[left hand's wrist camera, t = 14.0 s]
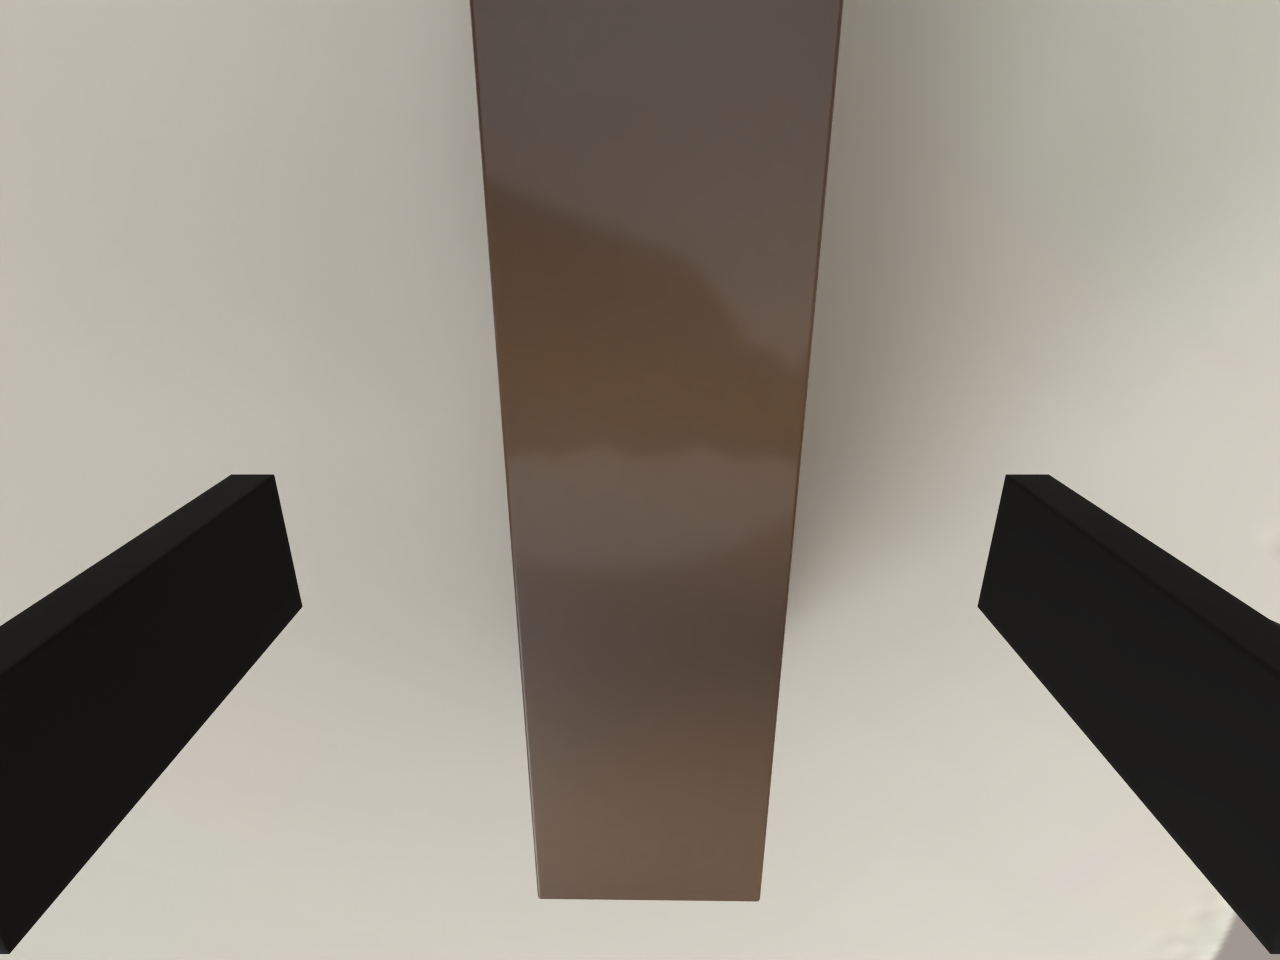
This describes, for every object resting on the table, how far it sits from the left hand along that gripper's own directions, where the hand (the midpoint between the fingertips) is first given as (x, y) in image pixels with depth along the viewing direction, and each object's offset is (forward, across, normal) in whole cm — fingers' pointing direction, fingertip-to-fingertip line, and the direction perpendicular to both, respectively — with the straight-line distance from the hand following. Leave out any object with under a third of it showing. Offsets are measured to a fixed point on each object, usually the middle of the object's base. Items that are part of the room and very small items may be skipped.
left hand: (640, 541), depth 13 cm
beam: (+6, 0, -18) cm, 20 cm away
